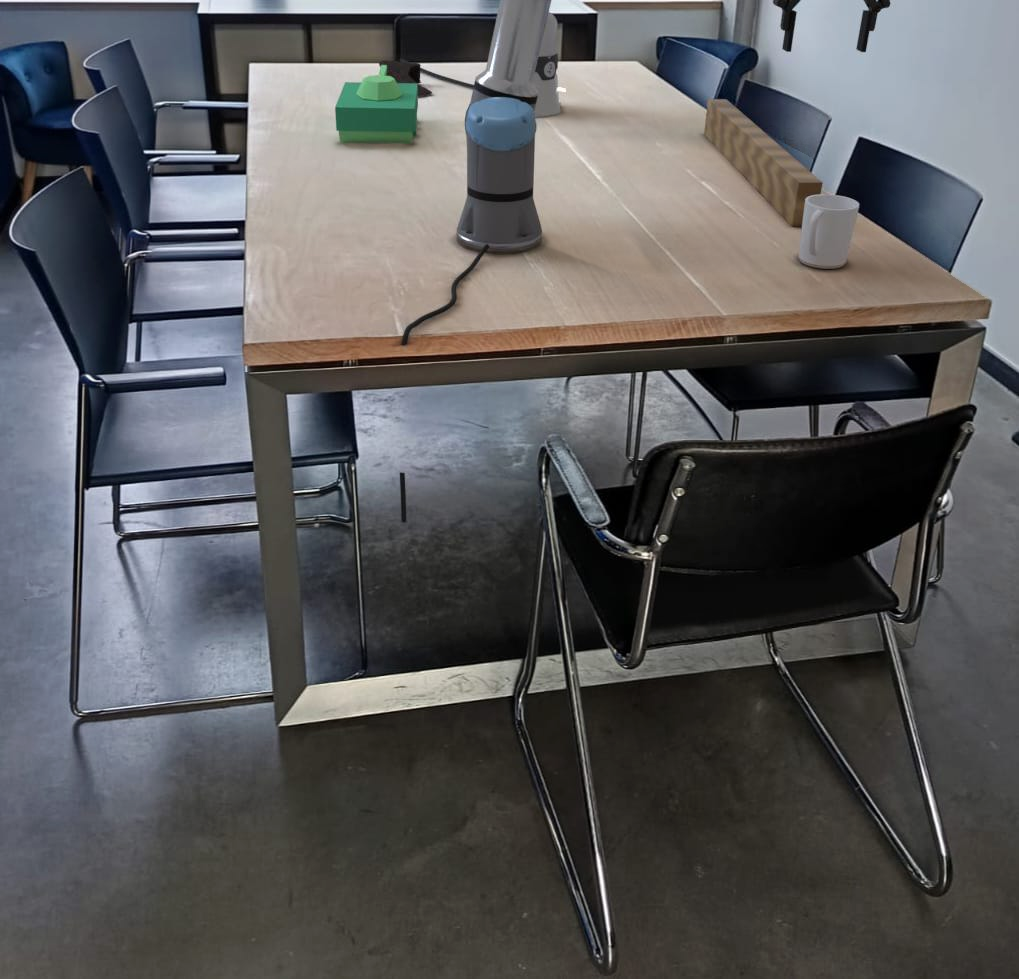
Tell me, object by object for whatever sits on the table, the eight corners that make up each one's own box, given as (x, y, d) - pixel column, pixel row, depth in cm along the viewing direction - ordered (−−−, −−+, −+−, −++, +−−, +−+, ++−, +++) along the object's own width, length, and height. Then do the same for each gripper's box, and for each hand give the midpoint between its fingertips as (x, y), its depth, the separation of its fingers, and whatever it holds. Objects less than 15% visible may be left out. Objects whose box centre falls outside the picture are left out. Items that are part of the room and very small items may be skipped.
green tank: (418, 61, 273) (414, 91, 243) (418, 112, 279) (415, 147, 249) (346, 59, 272) (334, 89, 242) (349, 110, 278) (337, 146, 249)
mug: (809, 248, 195) (819, 191, 189) (856, 260, 190) (868, 201, 185) (780, 264, 188) (790, 205, 182) (829, 277, 183) (840, 216, 177)
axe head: (443, 87, 294) (392, 77, 287) (436, 115, 299) (385, 106, 292) (421, 62, 307) (371, 52, 300) (414, 89, 311) (365, 80, 304)
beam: (815, 226, 206) (822, 182, 202) (791, 226, 206) (798, 182, 202) (722, 134, 266) (726, 99, 262) (703, 134, 266) (707, 99, 261)
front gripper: (908, -85, 187) (883, 47, 199) (766, -87, 185) (749, 46, 196) (926, -81, 181) (899, 54, 192) (779, -84, 179) (761, 54, 190)
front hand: (823, 50), depth 194 cm, fingers open, 13 cm apart
